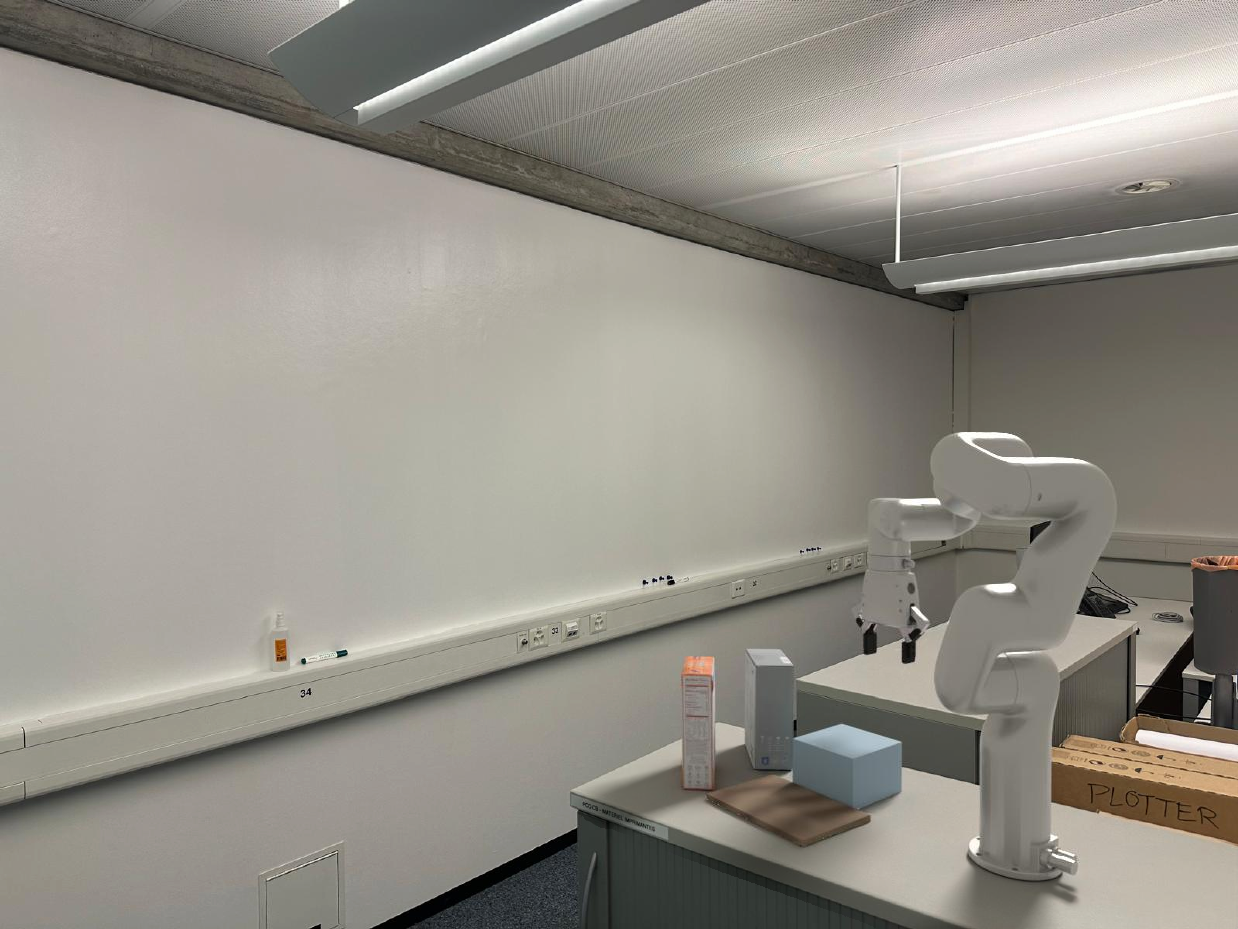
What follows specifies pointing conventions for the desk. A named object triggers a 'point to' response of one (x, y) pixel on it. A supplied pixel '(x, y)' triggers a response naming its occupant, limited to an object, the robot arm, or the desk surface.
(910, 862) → the desk surface
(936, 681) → the robot arm
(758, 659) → the hard drive box
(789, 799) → the thin wooden board
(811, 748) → the carton
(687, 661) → the cracker box
